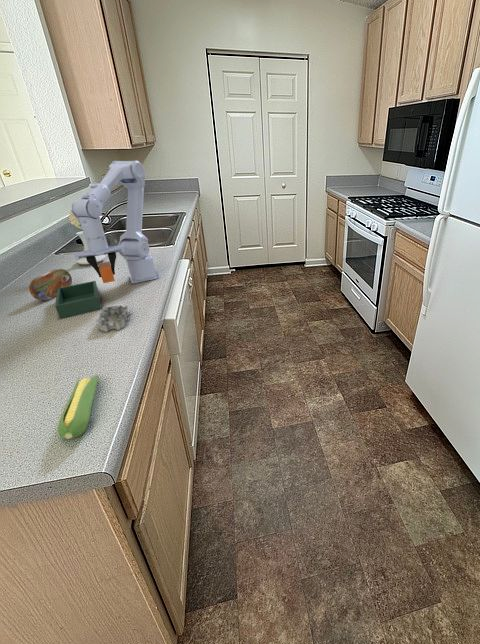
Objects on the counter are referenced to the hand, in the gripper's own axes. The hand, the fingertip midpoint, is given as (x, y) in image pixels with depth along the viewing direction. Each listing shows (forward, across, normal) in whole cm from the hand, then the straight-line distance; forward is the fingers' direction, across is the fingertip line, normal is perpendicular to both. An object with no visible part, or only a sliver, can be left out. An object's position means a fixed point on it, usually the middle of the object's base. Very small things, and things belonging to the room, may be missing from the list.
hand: (107, 275), depth 114 cm
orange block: (+1, 0, 0) cm, 1 cm away
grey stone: (+9, -1, -20) cm, 22 cm away
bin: (+8, -10, 0) cm, 13 cm away
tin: (+9, -18, +14) cm, 25 cm away
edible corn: (+9, -10, -56) cm, 57 cm away
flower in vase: (+9, -5, +44) cm, 45 cm away
